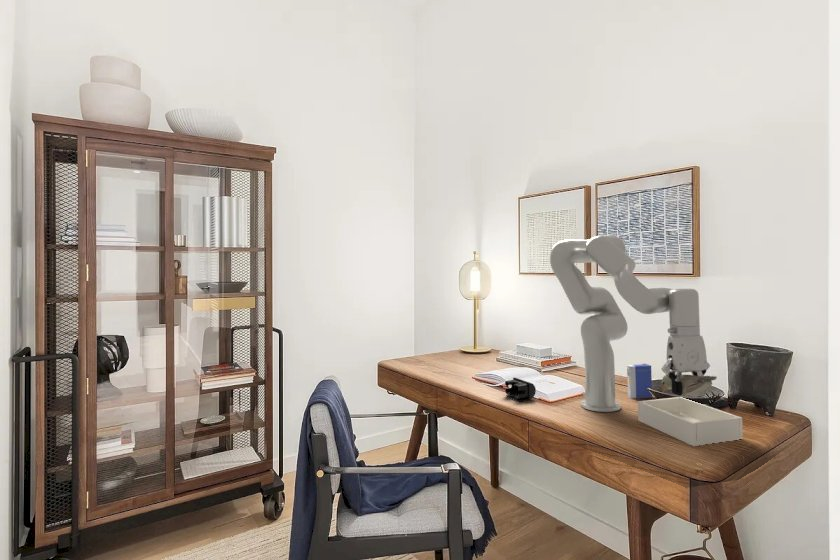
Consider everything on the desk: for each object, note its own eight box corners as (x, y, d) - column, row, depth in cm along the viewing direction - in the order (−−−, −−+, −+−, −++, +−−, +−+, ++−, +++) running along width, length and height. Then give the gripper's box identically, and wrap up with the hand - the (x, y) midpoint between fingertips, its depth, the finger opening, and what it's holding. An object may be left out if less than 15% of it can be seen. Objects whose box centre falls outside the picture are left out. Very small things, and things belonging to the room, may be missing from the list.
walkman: (648, 395, 167) (647, 363, 167) (652, 397, 164) (651, 364, 164) (626, 396, 167) (626, 363, 167) (630, 398, 164) (629, 365, 164)
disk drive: (698, 399, 163) (673, 405, 156) (697, 391, 163) (672, 397, 156) (729, 406, 154) (704, 413, 147) (729, 397, 154) (703, 404, 147)
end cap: (536, 400, 167) (535, 381, 167) (520, 403, 164) (519, 384, 164) (520, 393, 176) (519, 376, 176) (504, 396, 173) (504, 378, 173)
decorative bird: (668, 390, 139) (667, 365, 139) (723, 402, 125) (722, 375, 125) (657, 393, 137) (656, 368, 137) (712, 405, 123) (711, 377, 122)
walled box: (638, 420, 141) (637, 401, 141) (681, 415, 144) (681, 396, 144) (693, 446, 120) (693, 423, 120) (742, 439, 123) (742, 417, 123)
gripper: (668, 334, 126) (670, 399, 126) (720, 330, 129) (722, 393, 130) (649, 331, 133) (651, 392, 134) (699, 328, 137) (701, 387, 137)
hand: (686, 392), depth 132 cm, fingers closed on decorative bird, 5 cm apart
